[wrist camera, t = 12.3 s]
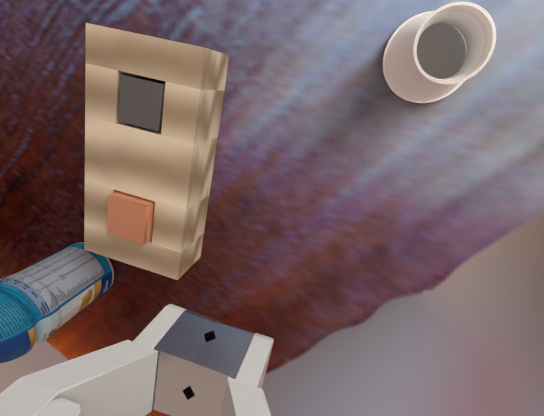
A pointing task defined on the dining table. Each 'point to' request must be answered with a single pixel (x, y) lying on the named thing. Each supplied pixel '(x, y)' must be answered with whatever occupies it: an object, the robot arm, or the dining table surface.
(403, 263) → the dining table surface
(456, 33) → the vase
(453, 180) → the dining table surface
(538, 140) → the dining table surface
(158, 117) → the charcoal plug
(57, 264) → the beverage bottle
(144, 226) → the terracotta plug
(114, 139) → the maple housing
